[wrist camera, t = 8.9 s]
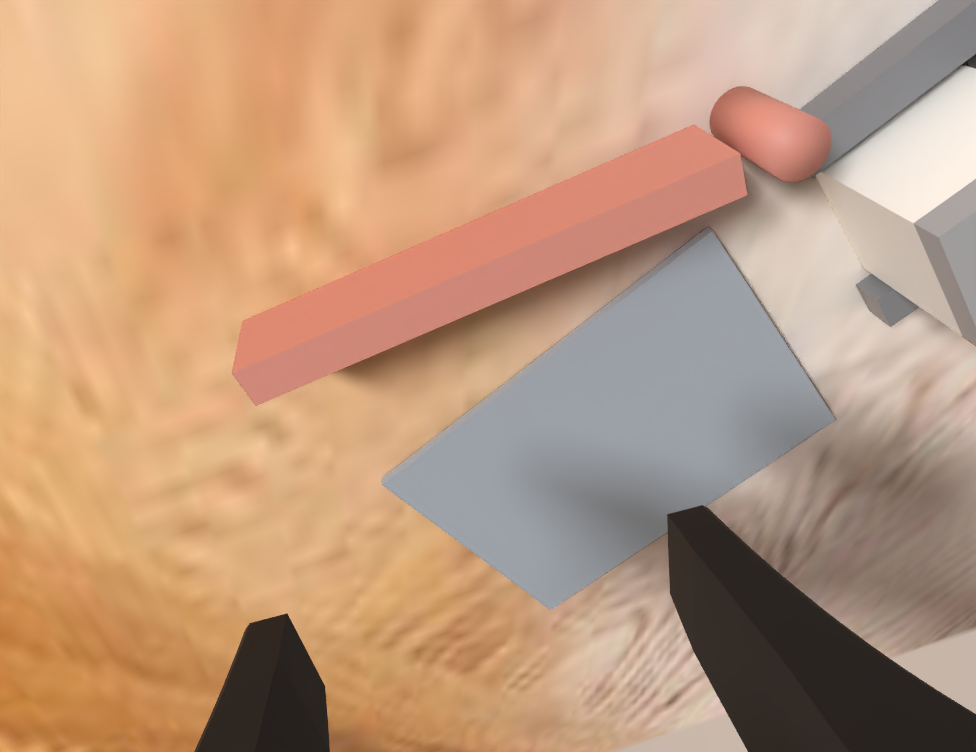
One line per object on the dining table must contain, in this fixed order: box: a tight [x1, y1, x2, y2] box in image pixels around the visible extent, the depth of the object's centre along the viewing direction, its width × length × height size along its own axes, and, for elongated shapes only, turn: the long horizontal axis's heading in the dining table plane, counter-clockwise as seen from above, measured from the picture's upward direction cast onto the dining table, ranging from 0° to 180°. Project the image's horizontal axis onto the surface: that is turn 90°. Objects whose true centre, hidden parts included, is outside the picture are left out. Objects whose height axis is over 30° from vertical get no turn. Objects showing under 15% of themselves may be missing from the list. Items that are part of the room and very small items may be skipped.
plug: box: [816, 65, 976, 346], centre depth 18 cm, size 4×4×5 cm
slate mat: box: [382, 227, 835, 610], centre depth 23 cm, size 12×9×1 cm
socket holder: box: [800, 0, 976, 327], centre depth 19 cm, size 6×7×1 cm
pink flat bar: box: [232, 86, 831, 406], centre depth 17 cm, size 1×14×3 cm, turn 110°
